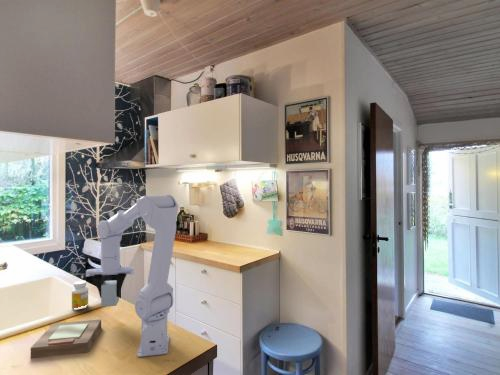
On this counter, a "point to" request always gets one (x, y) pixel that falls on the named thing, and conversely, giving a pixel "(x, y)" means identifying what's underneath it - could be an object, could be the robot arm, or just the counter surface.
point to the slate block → (109, 293)
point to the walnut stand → (66, 338)
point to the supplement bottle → (79, 294)
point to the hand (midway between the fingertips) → (110, 296)
